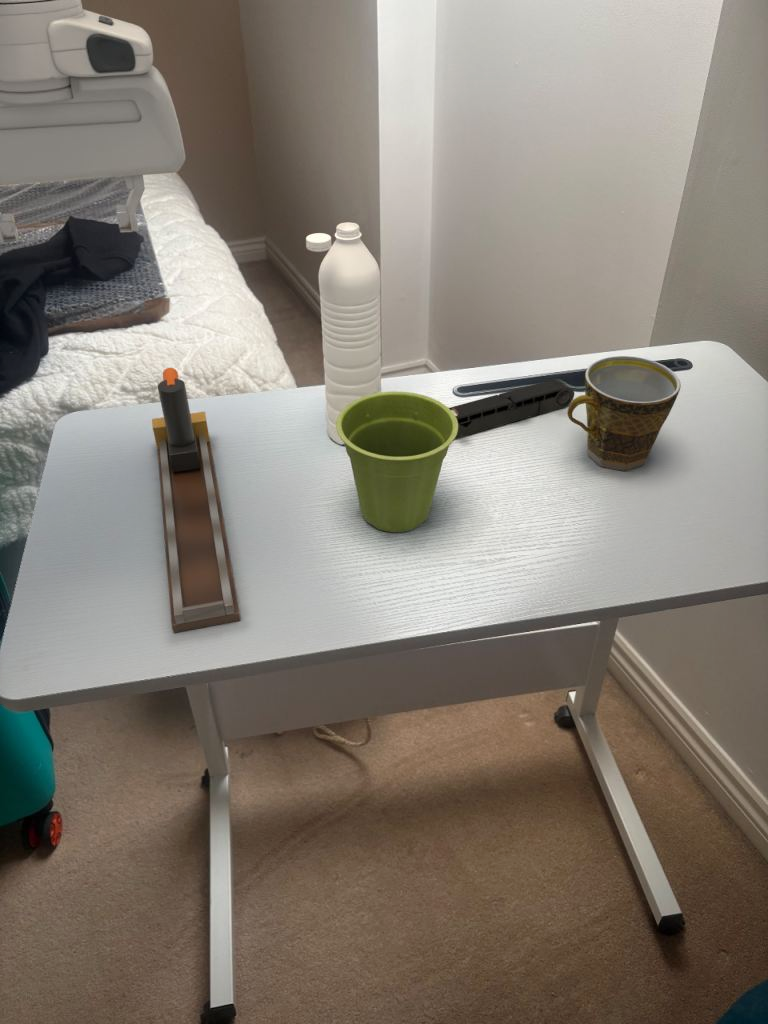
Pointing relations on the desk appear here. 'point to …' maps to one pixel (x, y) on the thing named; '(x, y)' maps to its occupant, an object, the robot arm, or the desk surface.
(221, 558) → the rail
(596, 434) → the ceramic cup
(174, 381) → the nozzle
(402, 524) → the plant pot
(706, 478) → the desk surface
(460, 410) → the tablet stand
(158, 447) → the block
